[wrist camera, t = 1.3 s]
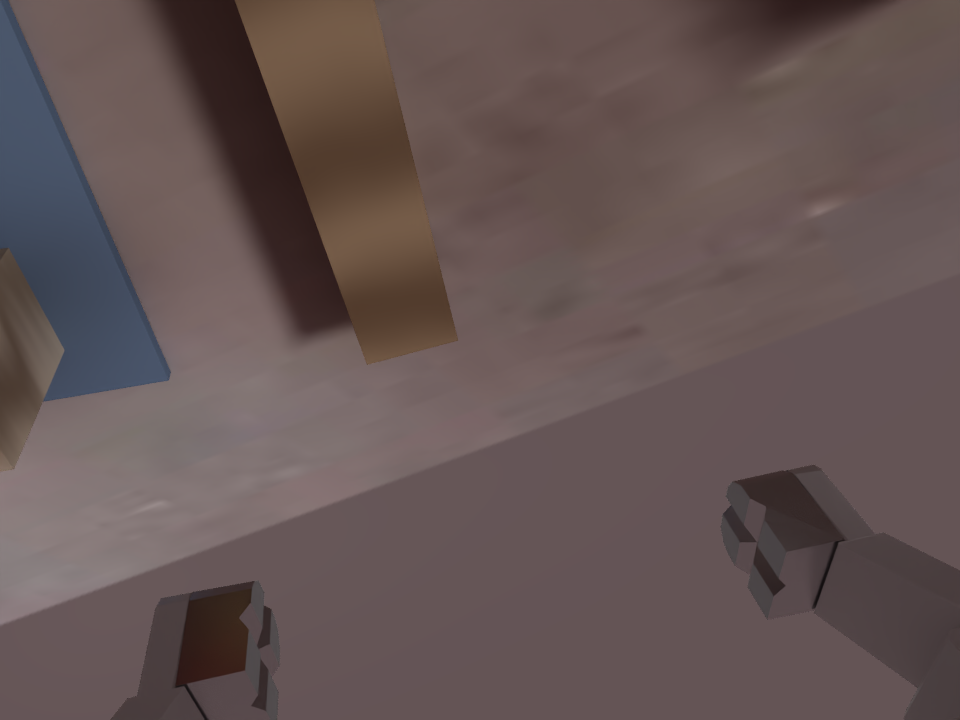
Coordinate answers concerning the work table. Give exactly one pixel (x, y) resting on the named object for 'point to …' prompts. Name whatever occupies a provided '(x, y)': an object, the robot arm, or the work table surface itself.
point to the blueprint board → (65, 239)
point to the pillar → (22, 359)
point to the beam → (354, 166)
